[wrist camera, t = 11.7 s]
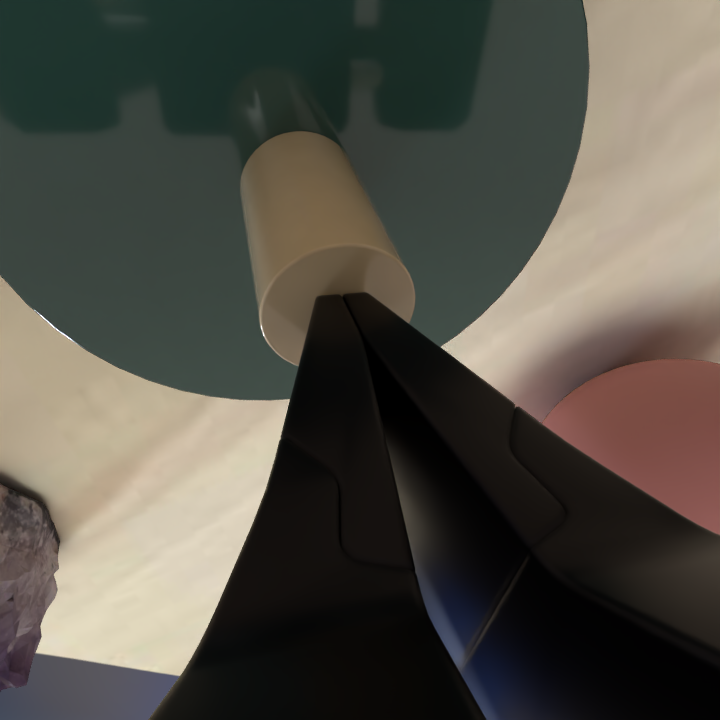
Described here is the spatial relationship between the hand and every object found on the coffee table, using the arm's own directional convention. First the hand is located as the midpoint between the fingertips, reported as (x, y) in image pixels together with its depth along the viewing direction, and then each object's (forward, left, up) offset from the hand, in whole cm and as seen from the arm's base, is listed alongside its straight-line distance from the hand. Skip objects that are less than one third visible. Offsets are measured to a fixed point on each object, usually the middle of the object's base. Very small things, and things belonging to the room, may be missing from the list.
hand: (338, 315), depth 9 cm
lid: (0, 0, -5) cm, 5 cm away
